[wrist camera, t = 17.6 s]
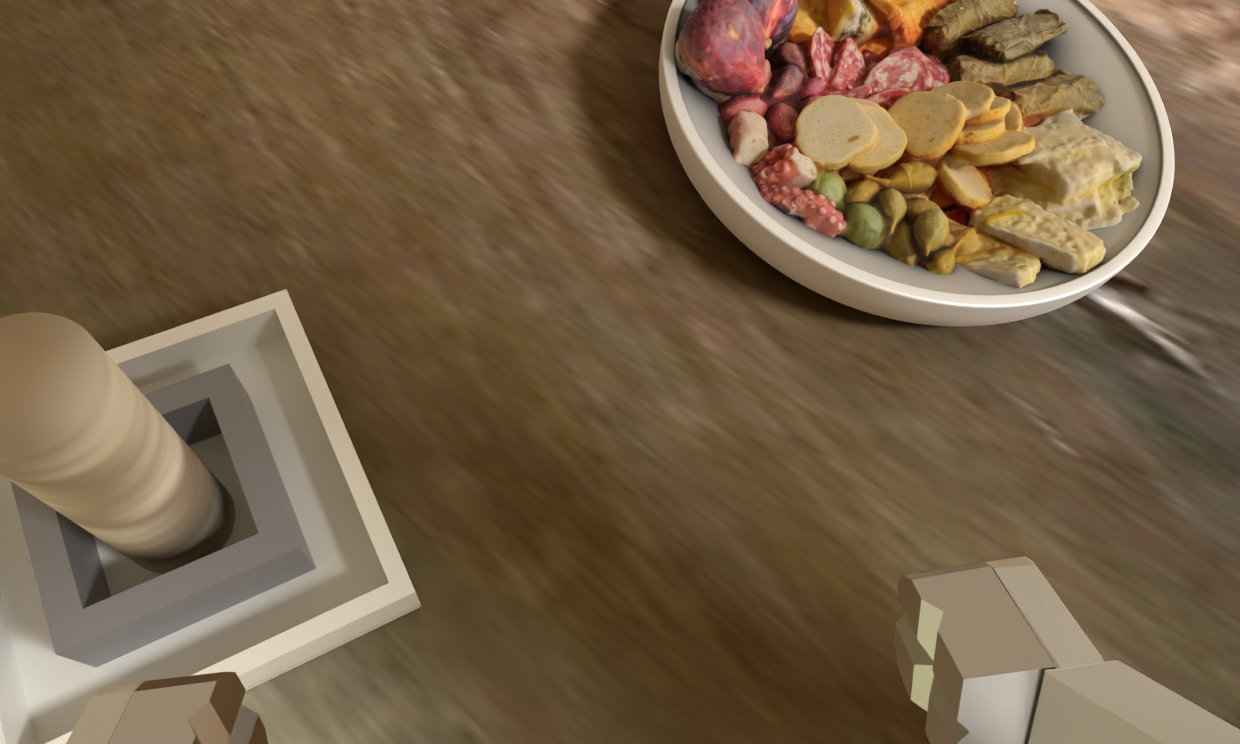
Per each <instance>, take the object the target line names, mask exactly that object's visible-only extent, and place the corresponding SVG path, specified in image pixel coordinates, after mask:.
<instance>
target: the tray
mask: <svg viewBox="0 0 1240 744" xmlns="http://www.w3.org/2000/svg"><path fill="white" fill-rule="evenodd" d="M105 352H106V353H107V354H108V355H109V356H110V358H111V359H112V360H113V361H114V362H115V363H116V364H117V365H118V367H119V368H120V369H121V370H122V371H123V372H124V373H125V375H126V376H127V377H128V378H129V379H130V380H131V381H132V382H133V384H134V385H135V386H136V387H137V388H138V389H139V390H140V392H141V393H142V394H143V395H144V396H145V397H146V398H147V399H148V401H149V402H150V403H151V404H152V405H153V406H154V407H155V409H156V410H157V411H158V412H159V413H160V414H161V415H162V416H163V418H164V419H165V420H166V421H167V422H168V423H169V424H170V426H171V427H172V428H173V429H174V430H175V431H176V432H177V433H178V435H179V436H180V437H181V438H182V439H183V440H184V441H185V443H186V444H187V445H188V446H189V447H190V448H191V449H192V450H193V452H194V453H195V454H196V455H197V456H198V457H199V458H200V460H201V461H202V462H203V463H204V464H205V465H206V466H207V467H208V469H209V470H210V471H211V472H212V473H213V474H214V475H215V477H216V478H217V479H218V480H219V481H220V482H221V483H222V484H223V486H224V487H225V488H226V489H227V490H228V492H229V493H230V495H231V497H232V500H233V503H234V507H235V521H234V526H233V529H232V532H231V535H230V537H229V539H228V540H227V542H226V544H225V545H224V546H223V548H222V549H221V550H219V551H217V552H214V553H212V554H210V555H207V556H205V557H203V558H200V559H198V560H196V561H193V562H191V563H189V564H186V565H184V566H182V567H179V568H177V569H175V570H172V571H170V572H168V573H165V574H162V573H156V572H152V571H150V570H147V569H145V568H144V567H142V566H140V565H139V564H137V563H136V562H134V561H133V560H131V559H129V558H128V557H126V556H125V555H123V554H122V553H120V552H119V551H117V550H116V549H114V548H113V547H111V546H110V545H108V544H107V543H105V542H104V541H102V540H100V539H99V538H97V537H96V536H94V535H93V534H91V533H90V532H88V531H87V530H85V529H84V528H82V527H81V526H79V525H78V524H76V523H74V522H73V521H71V520H70V519H68V518H67V517H65V516H64V515H62V514H61V513H59V512H58V511H56V510H55V509H53V508H52V507H50V506H48V505H47V504H45V503H44V502H42V501H41V500H39V499H38V498H36V497H35V496H33V495H32V494H30V493H29V492H27V491H26V490H24V489H23V488H21V487H19V486H18V485H16V484H15V483H13V482H12V481H10V480H9V479H7V478H6V477H4V476H3V475H1V474H0V744H66V743H67V741H68V739H69V737H70V735H71V733H72V731H73V729H74V728H75V726H76V724H77V722H78V720H79V718H80V716H81V714H82V713H83V711H84V709H85V707H86V705H87V703H88V701H89V699H90V698H91V697H92V696H93V695H94V694H95V693H96V692H98V691H99V690H100V689H101V688H102V687H104V686H112V685H120V684H129V683H137V682H144V681H149V680H158V679H166V678H175V677H184V676H192V675H201V674H209V673H218V672H236V674H237V676H238V677H239V679H240V681H241V682H242V684H243V686H244V688H245V689H246V691H248V690H250V689H252V688H254V687H256V686H258V685H260V684H262V683H264V682H266V681H268V680H271V679H273V678H275V677H277V676H279V675H281V674H283V673H285V672H287V671H289V670H291V669H293V668H295V667H298V666H300V665H302V664H304V663H306V662H308V661H310V660H312V659H314V658H316V657H318V656H320V655H322V654H324V653H327V652H329V651H331V650H333V649H335V648H337V647H339V646H341V645H343V644H345V643H347V642H349V641H351V640H354V639H356V638H358V637H360V636H362V635H364V634H366V633H368V632H370V631H372V630H374V629H376V628H378V627H380V626H383V625H385V624H387V623H389V622H391V621H393V620H395V619H397V618H399V617H401V616H403V615H405V614H407V613H409V612H412V611H414V610H416V609H418V608H420V607H422V606H421V604H420V601H419V599H418V597H417V594H416V592H415V589H414V587H413V585H412V582H411V580H410V578H409V575H408V573H407V571H406V568H405V566H404V564H403V561H402V559H401V557H400V554H399V552H398V550H397V547H396V545H395V543H394V540H393V538H392V536H391V533H390V531H389V529H388V526H387V524H386V522H385V519H384V517H383V514H382V512H381V510H380V507H379V505H378V503H377V500H376V498H375V496H374V493H373V491H372V489H371V486H370V484H369V482H368V479H367V477H366V475H365V472H364V470H363V468H362V465H361V463H360V461H359V458H358V456H357V454H356V451H355V449H354V447H353V444H352V442H351V440H350V437H349V435H348V432H347V430H346V428H345V425H344V423H343V421H342V418H341V416H340V414H339V411H338V409H337V407H336V404H335V402H334V400H333V397H332V395H331V393H330V390H329V388H328V386H327V383H326V381H325V379H324V376H323V374H322V372H321V369H320V367H319V365H318V362H317V360H316V358H315V355H314V353H313V350H312V348H311V346H310V343H309V341H308V339H307V336H306V334H305V332H304V329H303V327H302V325H301V322H300V320H299V318H298V315H297V313H296V311H295V308H294V306H293V304H292V301H291V299H290V297H289V294H288V292H287V290H286V289H285V290H282V291H279V292H276V293H273V294H271V295H268V296H265V297H262V298H259V299H256V300H253V301H250V302H247V303H245V304H242V305H239V306H236V307H233V308H230V309H227V310H224V311H221V312H218V313H216V314H213V315H210V316H207V317H204V318H201V319H198V320H195V321H192V322H189V323H187V324H184V325H181V326H178V327H175V328H172V329H169V330H166V331H163V332H160V333H158V334H155V335H152V336H149V337H146V338H143V339H140V340H137V341H134V342H132V343H129V344H126V345H123V346H120V347H117V348H114V349H111V350H108V351H105ZM246 691H245V692H246Z"/></svg>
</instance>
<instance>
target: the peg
mask: <svg viewBox="0 0 1240 744" xmlns="http://www.w3.org/2000/svg"><path fill="white" fill-rule="evenodd" d="M0 474H1V475H3V476H4V477H6V478H7V479H9V480H10V481H12V482H13V483H15V484H16V485H18V486H19V487H21V488H23V489H24V490H26V491H27V492H29V493H30V494H32V495H33V496H35V497H36V498H38V499H39V500H41V501H42V502H44V503H45V504H47V505H48V506H50V507H52V508H53V509H55V510H56V511H58V512H59V513H61V514H62V515H64V516H65V517H67V518H68V519H70V520H71V521H73V522H74V523H76V524H78V525H79V526H81V527H82V528H84V529H85V530H87V531H88V532H90V533H91V534H93V535H94V536H96V537H97V538H99V539H100V540H102V541H104V542H105V543H107V544H108V545H110V546H111V547H113V548H114V549H116V550H117V551H119V552H120V553H122V554H123V555H125V556H126V557H128V558H129V559H131V560H133V561H134V562H136V563H137V564H139V565H140V566H142V567H144V568H145V569H147V570H150V571H152V572H156V573H162V574H165V573H168V572H170V571H172V570H175V569H177V568H179V567H182V566H184V565H186V564H189V563H191V562H193V561H196V560H198V559H200V558H203V557H205V556H207V555H210V554H212V553H214V552H217V551H219V550H221V549H222V548H223V546H224V545H225V544H226V542H227V540H228V539H229V537H230V535H231V532H232V529H233V526H234V521H235V507H234V503H233V500H232V497H231V495H230V493H229V492H228V490H227V489H226V488H225V487H224V486H223V484H222V483H221V482H220V481H219V480H218V479H217V478H216V477H215V475H214V474H213V473H212V472H211V471H210V470H209V469H208V467H207V466H206V465H205V464H204V463H203V462H202V461H201V460H200V458H199V457H198V456H197V455H196V454H195V453H194V452H193V450H192V449H191V448H190V447H189V446H188V445H187V444H186V443H185V441H184V440H183V439H182V438H181V437H180V436H179V435H178V433H177V432H176V431H175V430H174V429H173V428H172V427H171V426H170V424H169V423H168V422H167V421H166V420H165V419H164V418H163V416H162V415H161V414H160V413H159V412H158V411H157V410H156V409H155V407H154V406H153V405H152V404H151V403H150V402H149V401H148V399H147V398H146V397H145V396H144V395H143V394H142V393H141V392H140V390H139V389H138V388H137V387H136V386H135V385H134V384H133V382H132V381H131V380H130V379H129V378H128V377H127V376H126V375H125V373H124V372H123V371H122V370H121V369H120V368H119V367H118V365H117V364H116V363H115V362H114V361H113V360H112V359H111V358H110V356H109V355H108V354H107V353H106V352H105V351H104V350H103V348H102V347H101V346H100V345H99V344H98V343H97V342H96V341H95V339H94V338H93V337H92V336H91V335H90V334H89V333H88V332H87V331H86V330H85V329H84V328H83V327H82V326H80V325H79V324H77V323H76V322H74V321H72V320H70V319H67V318H65V317H62V316H59V315H55V314H49V313H40V312H29V313H19V314H13V315H8V316H5V317H1V318H0Z"/></svg>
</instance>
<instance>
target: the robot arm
mask: <svg viewBox="0 0 1240 744" xmlns="http://www.w3.org/2000/svg"><path fill="white" fill-rule="evenodd" d="M897 598H898V600H899V602H900V604H901V606H902V608H903V611H904V614H903V615H902V616H901V617H900V618H899V619H898V620H897V621H896V622H895V634H894V645H895V651H896V658H897V664H898V668H899V671H900V674H901V677H902V680H903V683H904V685H905V688H906V690H907V692H908V695H909V697H910V699H911V701H913V702H914V703H916V704H917V705H918V706H920V707H921V708H923V709H924V710H925V711H927V720H926V729H925V733H926V735H927V738H928V740H929V742H930V744H1240V729H1238V728H1236V727H1234V726H1232V725H1231V724H1229V723H1227V722H1225V721H1224V720H1222V719H1220V718H1218V717H1217V716H1215V715H1213V714H1211V713H1210V712H1208V711H1206V710H1204V709H1203V708H1201V707H1199V706H1197V705H1196V704H1194V703H1192V702H1190V701H1189V700H1187V699H1185V698H1183V697H1182V696H1180V695H1178V694H1176V693H1175V692H1173V691H1171V690H1169V689H1168V688H1166V687H1164V686H1162V685H1161V684H1159V683H1157V682H1155V681H1154V680H1152V679H1150V678H1148V677H1146V676H1145V675H1143V674H1141V673H1139V672H1138V671H1136V670H1134V669H1132V668H1131V667H1129V666H1127V665H1125V664H1124V663H1122V662H1120V661H1118V660H1114V661H1104V660H1103V658H1102V657H1101V655H1100V654H1099V653H1098V651H1097V650H1096V648H1095V647H1094V646H1093V644H1092V643H1091V641H1090V640H1089V639H1088V637H1087V636H1086V634H1085V633H1084V632H1083V630H1082V629H1081V627H1080V626H1079V625H1078V623H1077V622H1076V620H1075V619H1074V618H1073V616H1072V615H1071V613H1070V612H1069V611H1068V609H1067V608H1066V606H1065V605H1064V604H1063V602H1062V601H1061V600H1060V598H1059V597H1058V595H1057V594H1056V593H1055V591H1054V590H1053V588H1052V587H1051V586H1050V584H1049V583H1048V581H1047V580H1046V579H1045V577H1044V576H1043V574H1042V573H1041V572H1040V570H1039V569H1038V567H1037V566H1036V565H1035V563H1034V562H1033V561H1031V560H1030V559H1028V558H1027V557H1018V558H1011V559H1004V560H998V561H991V562H985V563H983V564H981V563H975V564H969V565H962V566H956V567H949V568H943V569H936V570H930V571H923V572H917V573H910V574H904V575H902V577H901V579H900V581H899V585H898V594H897ZM245 691H246V689H245V688H244V686H243V684H242V682H241V681H240V679H239V677H238V676H237V674H236V672H218V673H209V674H201V675H192V676H184V677H175V678H166V679H158V680H149V681H144V682H137V683H129V684H120V685H112V686H104V687H102V688H101V689H100V690H99V691H98V692H96V693H95V694H94V695H93V696H92V697H91V698H90V699H89V701H88V703H87V705H86V707H85V709H84V711H83V713H82V714H81V716H80V718H79V720H78V722H77V724H76V726H75V728H74V729H73V731H72V733H71V735H70V737H69V739H68V741H67V743H66V744H268V741H267V736H266V731H265V727H264V725H263V723H262V721H261V719H260V717H259V715H258V713H256V712H254V711H252V710H250V709H248V708H247V707H245V706H243V705H241V703H242V700H243V697H244V694H245Z"/></svg>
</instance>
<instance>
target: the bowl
mask: <svg viewBox="0 0 1240 744" xmlns="http://www.w3.org/2000/svg"><path fill="white" fill-rule="evenodd" d="M659 87H660V97H661V104H662V109H663V114H664V118H665V122H666V126H667V129H668V133H669V135H670V138H671V141H672V144H673V146H674V149H675V151H676V153H677V156H678V158H679V160H680V162H681V164H682V166H683V168H684V170H685V172H686V174H687V176H688V177H689V179H690V180H691V182H692V184H693V185H694V187H695V189H696V190H697V191H698V193H699V194H700V196H701V197H702V199H703V200H704V201H705V203H706V204H707V205H708V207H709V208H710V209H711V210H712V212H713V213H714V214H715V215H716V216H717V218H718V219H719V220H720V221H721V222H722V223H723V224H724V225H725V226H726V227H727V228H728V229H729V230H730V231H731V232H732V233H733V234H734V235H735V236H736V237H737V238H738V239H739V240H740V241H741V242H742V243H743V244H744V245H746V246H747V247H748V248H749V249H750V250H751V251H753V252H754V253H755V254H756V255H758V256H759V257H760V258H762V259H763V260H764V261H765V262H767V263H768V264H770V265H771V266H772V267H774V268H775V269H777V270H778V271H780V272H781V273H783V274H784V275H786V276H788V277H789V278H791V279H792V280H794V281H796V282H798V283H799V284H801V285H803V286H805V287H807V288H808V289H810V290H813V291H815V292H817V293H819V294H821V295H823V296H825V297H827V298H830V299H832V300H834V301H837V302H839V303H841V304H844V305H847V306H850V307H852V308H855V309H858V310H861V311H864V312H867V313H871V314H874V315H878V316H882V317H886V318H890V319H894V320H899V321H905V322H910V323H917V324H925V325H936V326H962V327H965V326H984V325H993V324H1001V323H1007V322H1013V321H1018V320H1022V319H1026V318H1030V317H1034V316H1037V315H1041V314H1044V313H1047V312H1050V311H1053V310H1055V309H1057V308H1060V307H1062V306H1064V305H1067V304H1069V303H1072V302H1073V301H1075V300H1077V299H1079V298H1081V297H1083V296H1085V295H1087V294H1088V293H1090V292H1092V291H1093V290H1095V289H1096V288H1098V287H1100V286H1101V285H1103V284H1104V283H1105V282H1107V281H1108V280H1109V279H1110V278H1112V277H1113V276H1114V275H1116V274H1117V273H1118V272H1119V271H1121V270H1122V269H1123V268H1124V267H1125V266H1126V265H1127V264H1129V263H1130V262H1131V261H1132V260H1133V259H1134V258H1135V257H1136V256H1137V255H1138V254H1139V253H1140V252H1141V251H1142V249H1143V248H1144V247H1145V246H1146V245H1147V243H1148V242H1149V241H1150V239H1151V238H1152V237H1153V235H1154V233H1155V232H1156V230H1157V228H1158V227H1159V225H1160V223H1161V221H1162V219H1163V216H1164V214H1165V212H1166V209H1167V206H1168V203H1169V200H1170V196H1171V191H1172V186H1173V179H1174V147H1173V139H1172V134H1171V129H1170V125H1169V121H1168V117H1167V114H1166V111H1165V108H1164V105H1163V103H1162V100H1161V98H1160V95H1159V93H1158V91H1157V88H1156V86H1155V84H1154V82H1153V81H1152V79H1151V77H1150V75H1149V73H1148V71H1147V70H1146V68H1145V66H1144V65H1143V63H1142V62H1141V60H1140V59H1139V57H1138V56H1137V54H1136V53H1135V51H1134V50H1133V49H1132V47H1131V46H1130V45H1129V43H1128V42H1127V40H1126V39H1125V38H1124V37H1123V36H1122V34H1121V33H1120V32H1119V31H1118V30H1117V29H1116V27H1115V26H1114V25H1113V24H1112V23H1111V22H1110V21H1109V20H1108V19H1107V18H1106V17H1105V16H1104V15H1103V14H1102V13H1101V12H1100V11H1099V10H1098V9H1097V8H1096V7H1095V6H1094V5H1093V4H1092V3H1091V2H1089V1H1088V0H672V3H671V6H670V8H669V11H668V15H667V18H666V22H665V26H664V31H663V36H662V42H661V48H660V58H659Z"/></svg>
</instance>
